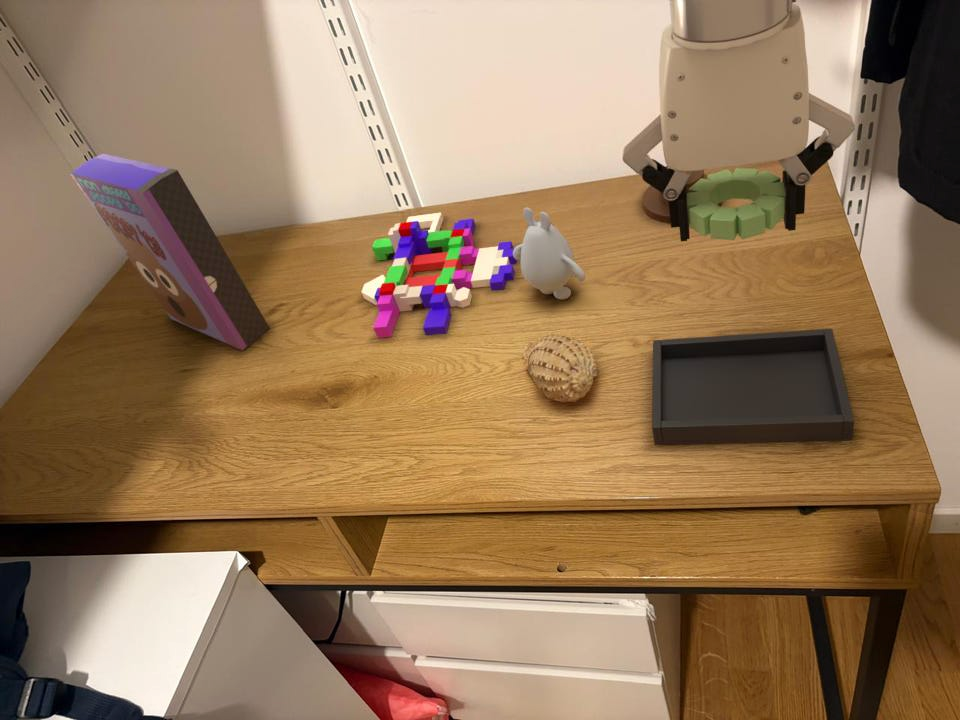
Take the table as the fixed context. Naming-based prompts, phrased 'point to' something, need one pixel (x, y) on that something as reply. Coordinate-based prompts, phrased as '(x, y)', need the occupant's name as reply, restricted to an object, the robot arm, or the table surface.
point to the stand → (659, 205)
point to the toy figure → (546, 257)
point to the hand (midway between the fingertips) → (735, 225)
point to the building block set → (434, 289)
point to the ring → (742, 219)
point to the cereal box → (172, 247)
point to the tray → (750, 389)
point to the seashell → (560, 367)
